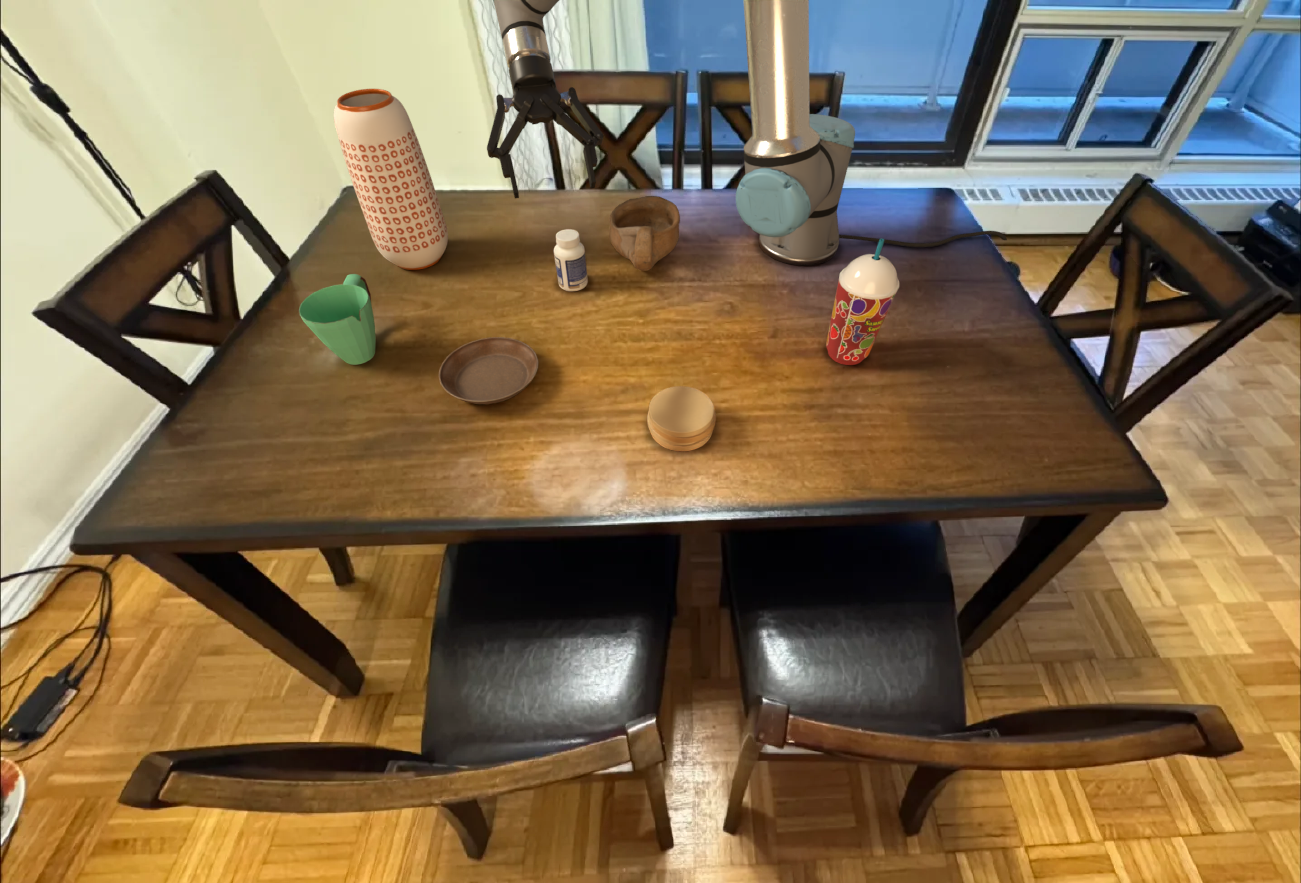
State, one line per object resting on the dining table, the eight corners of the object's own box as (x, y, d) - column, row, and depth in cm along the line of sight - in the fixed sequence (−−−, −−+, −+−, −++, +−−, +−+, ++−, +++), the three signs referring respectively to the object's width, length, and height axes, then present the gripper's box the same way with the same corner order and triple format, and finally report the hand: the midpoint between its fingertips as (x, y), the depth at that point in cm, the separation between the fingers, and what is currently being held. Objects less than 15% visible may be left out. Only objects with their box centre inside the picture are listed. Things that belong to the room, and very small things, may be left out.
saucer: (461, 346, 96) (456, 332, 94) (549, 352, 95) (547, 338, 93) (429, 410, 86) (423, 397, 84) (527, 417, 85) (524, 404, 83)
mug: (382, 374, 91) (357, 322, 84) (318, 376, 91) (288, 324, 84) (404, 316, 101) (384, 265, 93) (346, 318, 101) (322, 267, 93)
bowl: (701, 270, 107) (689, 222, 100) (629, 297, 109) (612, 252, 101) (678, 221, 119) (665, 175, 111) (613, 246, 120) (596, 202, 112)
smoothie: (862, 378, 90) (903, 263, 75) (811, 359, 93) (841, 245, 78) (879, 348, 95) (921, 234, 80) (830, 331, 98) (862, 218, 83)
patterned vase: (450, 235, 119) (405, 78, 98) (457, 269, 110) (410, 107, 89) (381, 246, 116) (320, 88, 95) (383, 282, 108) (317, 118, 87)
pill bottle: (592, 278, 108) (588, 229, 101) (581, 294, 105) (575, 245, 98) (566, 273, 110) (559, 224, 102) (553, 289, 106) (546, 239, 99)
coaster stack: (709, 402, 87) (711, 382, 84) (718, 451, 81) (721, 431, 78) (645, 405, 87) (645, 386, 84) (649, 455, 80) (649, 435, 77)
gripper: (598, 71, 107) (621, 189, 109) (459, 84, 103) (485, 207, 104) (602, 46, 100) (627, 172, 102) (453, 59, 95) (481, 191, 97)
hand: (555, 190), depth 103 cm, fingers open, 13 cm apart
